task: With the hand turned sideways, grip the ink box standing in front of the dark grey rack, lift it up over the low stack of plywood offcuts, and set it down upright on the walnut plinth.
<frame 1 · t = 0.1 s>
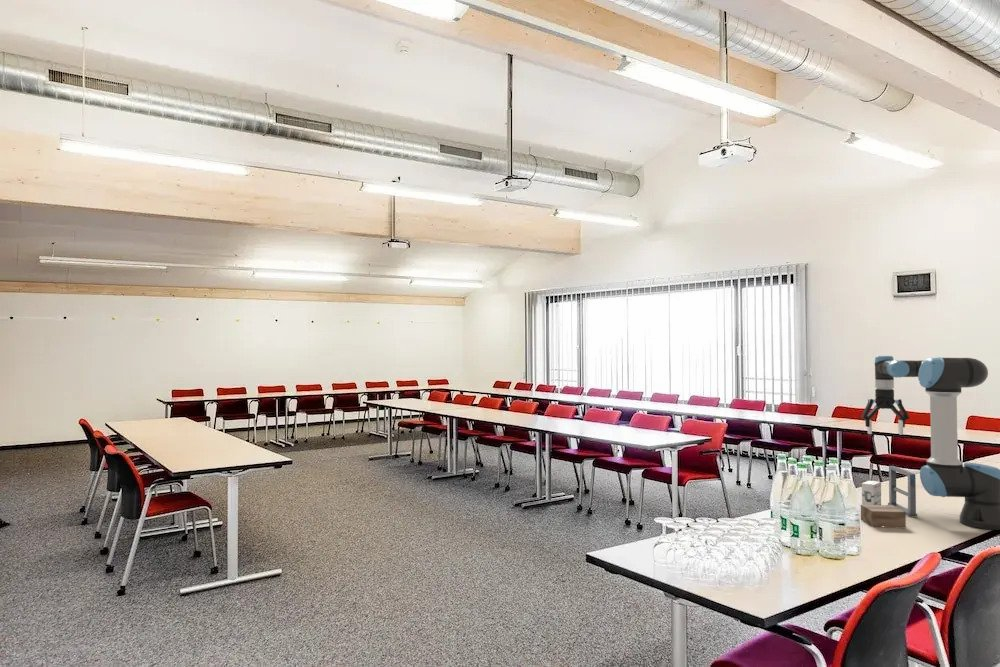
hand: (885, 434, 297), 28 cm above the table, tool pointing down, fingers open, 13 cm apart
offcut stack: (883, 516, 258), on the table
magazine: (940, 485, 315), on the table
walnut plinth: (882, 523, 248), on the table
ink box: (871, 510, 268), on the table
rack: (902, 510, 267), on the table
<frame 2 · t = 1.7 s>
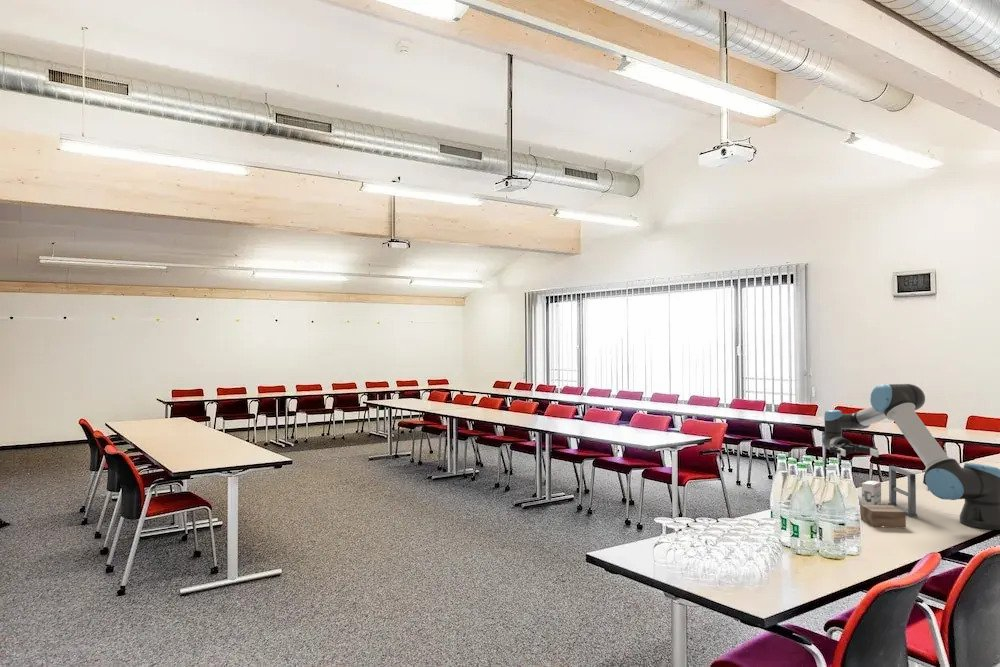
hand: (861, 453, 278), 22 cm above the table, tool horizontal, fingers open, 13 cm apart
nothing on the table moved.
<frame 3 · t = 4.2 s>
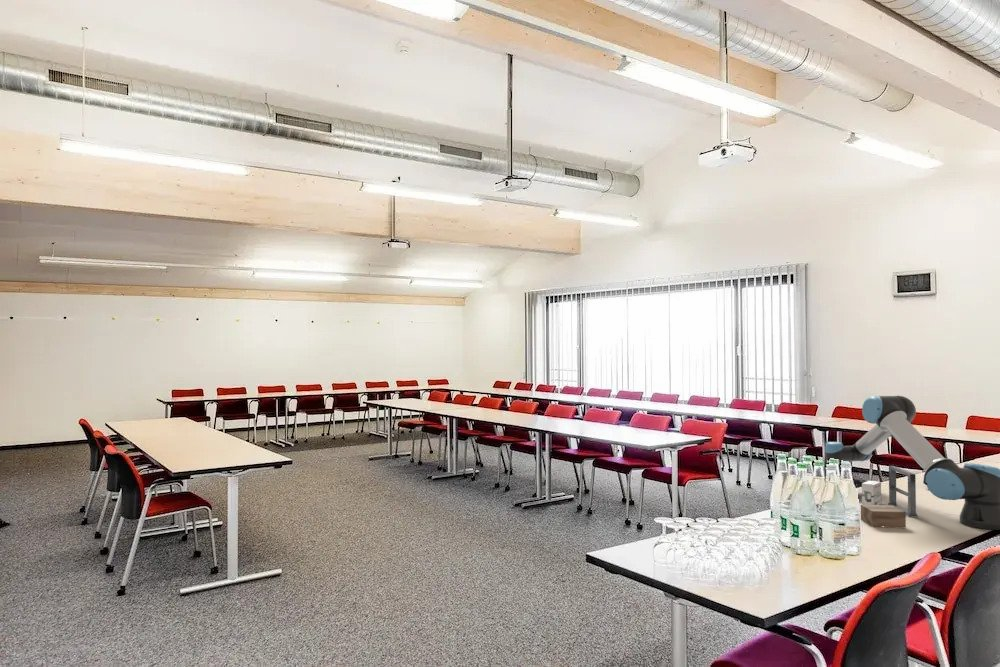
hand: (862, 489, 277), 7 cm above the table, tool horizontal, fingers open, 13 cm apart
nothing on the table moved.
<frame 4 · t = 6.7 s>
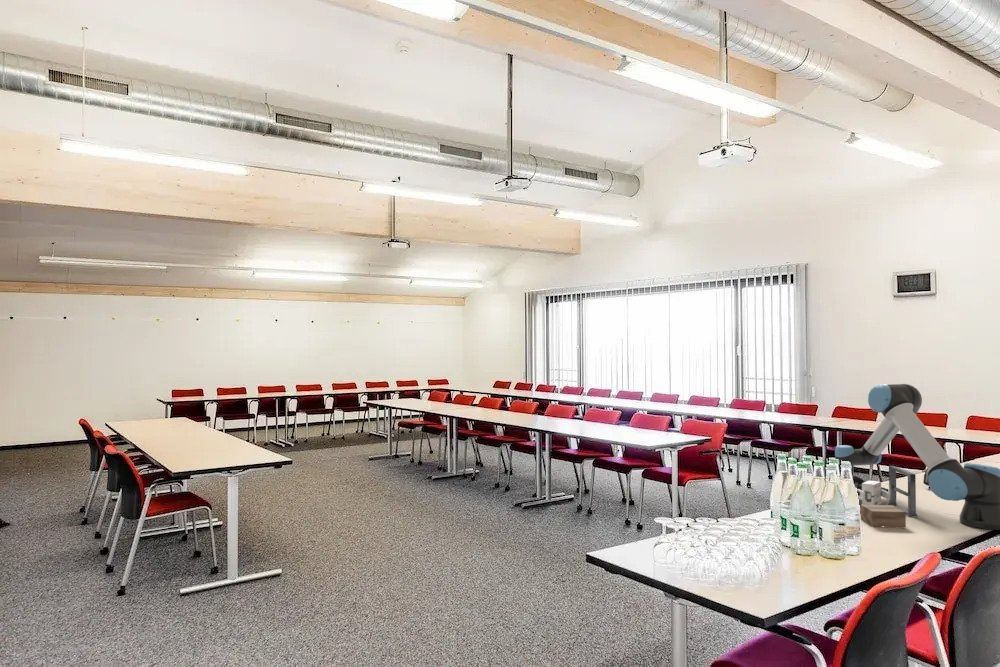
hand: (876, 495, 264), 7 cm above the table, tool horizontal, fingers closed on ink box, 9 cm apart
ink box: (871, 510, 268), on the table, touching gripper
everything else where it was.
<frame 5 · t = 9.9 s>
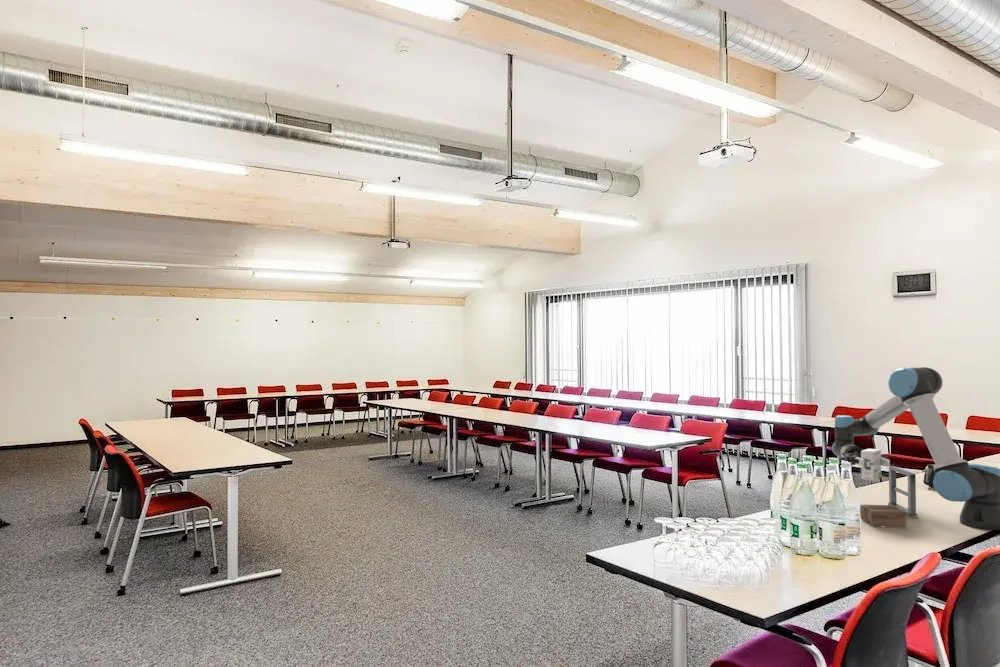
hand: (876, 463, 257), 22 cm above the table, tool horizontal, fingers closed on ink box, 9 cm apart
ink box: (871, 479, 261), point 15 cm above the table, touching gripper
everything else where it was.
when the fingers open (14 cm above the table, at t = 12.9 s): ink box stays where it is, resting on walnut plinth.
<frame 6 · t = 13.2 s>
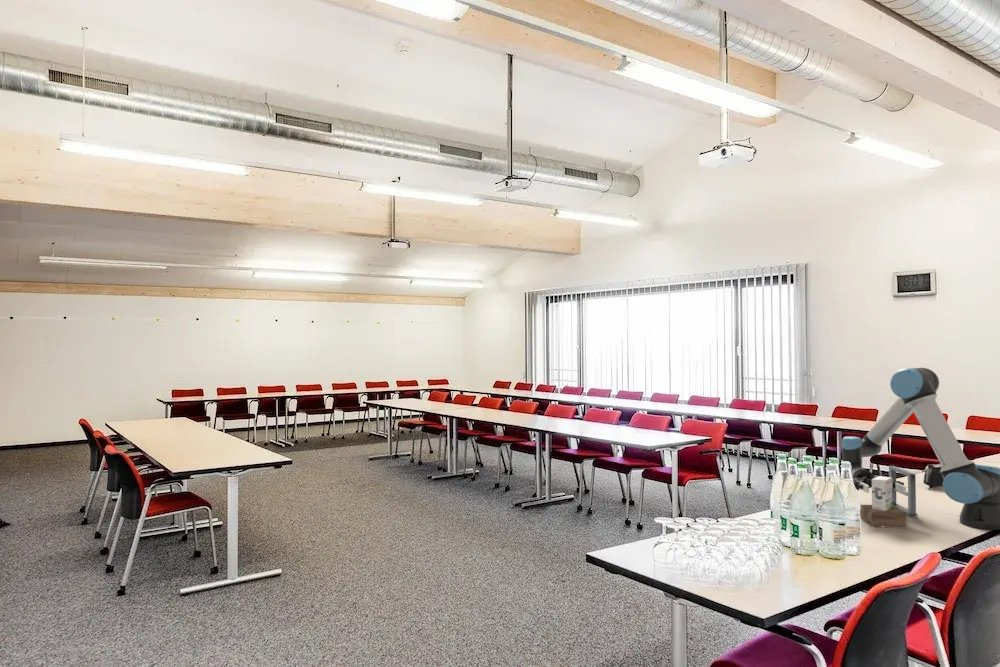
hand: (886, 489, 245), 14 cm above the table, tool horizontal, fingers open, 13 cm apart
ink box: (882, 508, 248), point 6 cm above the table, touching walnut plinth
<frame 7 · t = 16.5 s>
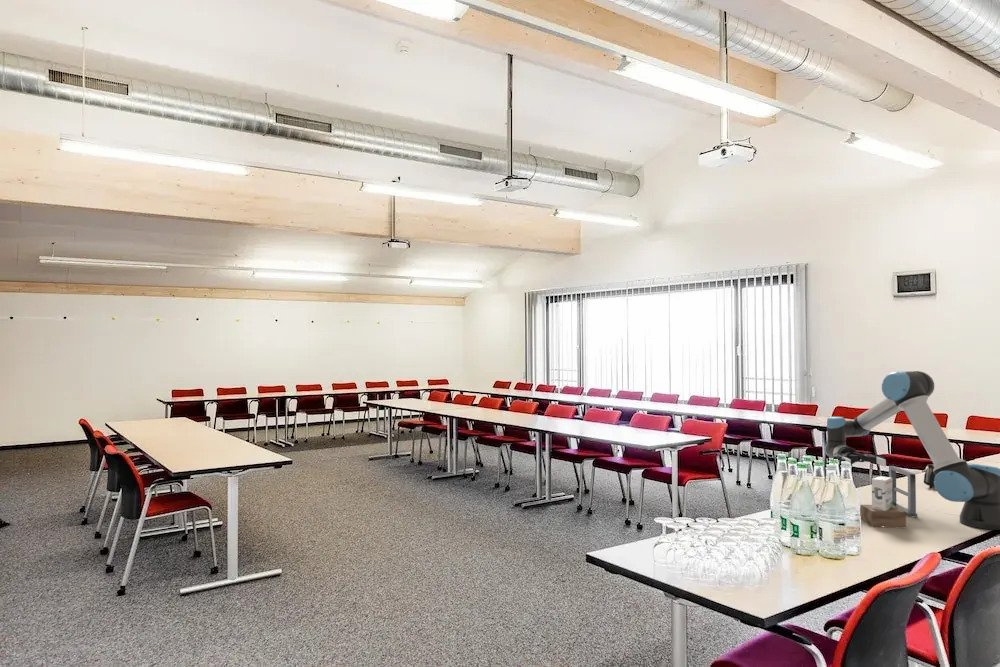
hand: (867, 462, 261), 21 cm above the table, tool horizontal, fingers open, 13 cm apart
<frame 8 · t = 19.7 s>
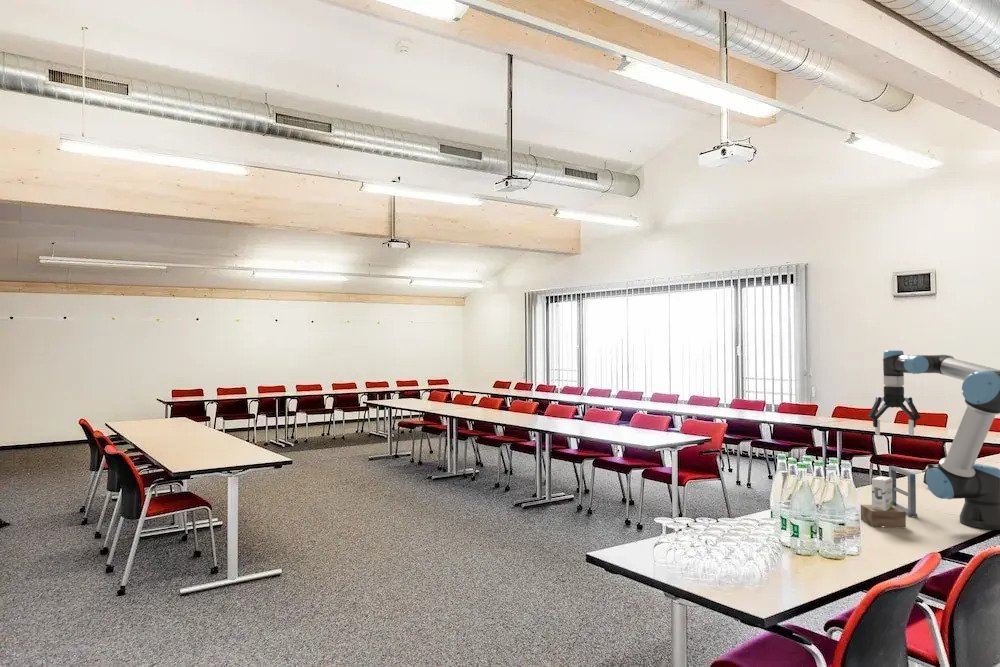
hand: (894, 435, 275), 31 cm above the table, tool pointing down, fingers open, 13 cm apart
at the end: ink box inside the target area on the walnut plinth (0.1 cm from its centre), point 5.8 cm above the walnut plinth's base; ink box tilted 0°; the gripper is holding nothing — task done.
